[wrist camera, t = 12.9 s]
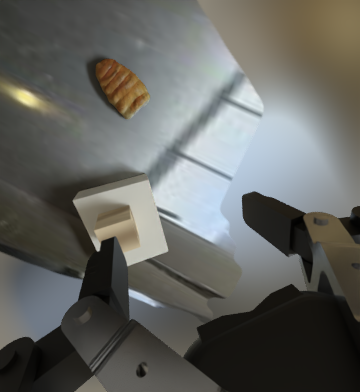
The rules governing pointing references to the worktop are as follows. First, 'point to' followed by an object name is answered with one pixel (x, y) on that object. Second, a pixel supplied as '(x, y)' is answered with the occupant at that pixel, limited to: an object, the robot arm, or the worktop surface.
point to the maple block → (118, 228)
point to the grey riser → (140, 206)
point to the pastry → (121, 87)
